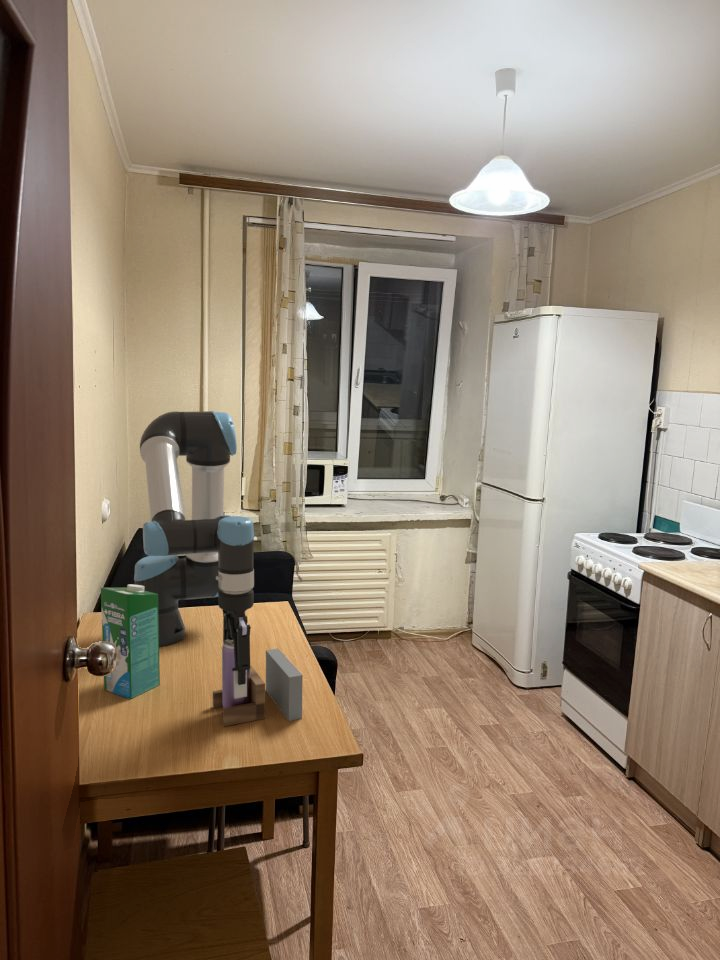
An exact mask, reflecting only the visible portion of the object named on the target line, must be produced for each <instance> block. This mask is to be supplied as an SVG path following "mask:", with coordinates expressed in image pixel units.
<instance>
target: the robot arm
mask: <svg viewBox="0 0 720 960" xmlns="http://www.w3.org/2000/svg"><path fill="white" fill-rule="evenodd" d="M236 435H237V434H236V430H235V425H234V421H233V418H232V416H231V415H230V414H229V413H227V412H224V411H223V412H222V411H215V410H211V411H168V412H165V413H164V414H160V415H159V416H158V417H156V418H154V419H153V420H152V421H151V422H150V423H149V424H148V425H147V427H146V428H145V429H144V430H143V432H142V435H141V437H140V441H139V454H140V458H141V459H142V461H143V462H144V463H145V472H146V473H145V474H146V475H145V476H146V485H147V495H148V504H149V515H150V517H149V518H150V521H147V522H145V523H143V525H142V539H143V540H142V541H143V543H142V544H143V551H144V554H145V555H146V556H145V557H143V558H141V559H139V560H138V561H137V562H136V563H135V565H134V577H133V580H134V585H142V586H144V591H148V592H152V593H156V594H158V621H159V647H163V646H169V645H172V644H175V643H178V642H180V641H181V640H183V639H184V638H185V637H186V626H185V623H184V621H183V618H182V615H181V612H180V610H179V601H183V600H197V599H207V598H209V599H210V598H211V599H212V598H218V600H217V601H218V603H217V605H218V608H219V609H221V610H222V615H223V616H222V618H223V619H222V620H223V621H222V625H223V626H222V630H223V631H222V643H223V642H224V641H225V640H227V639H229V640H232V639H233V645H234V657H235V668H232V671H234V698H235V699H236V698H241V697H247V670H249V669H250V667H251V666H252V665H251V637H250V636H251V624H248V622H249V621H248V616H247V615H246V611H247V610H250V609H251V608H253V606H254V604H255V603H254V595H255V594H254V590H253V589H254V588H255V569H254V562H255V561H254V551H255V549H254V546H255V544H254V542H255V540H254V539H255V536H256V535H255V531H254V530H255V529H254V522H253V520H252V518H250V517H246V516H239V515H237V516H236V515H235V516H234V515H229V514H224V495H225V494H224V493H225V492H224V491H225V490H224V489H225V488H224V486H225V481H224V480H225V468H226V467H227V466H228V465H229V464H230V463H231V456H235V455H236V454H237V449H238V448H237V447H238V446H237V436H236ZM179 456H180V457H182V456H185V458H186V459H185V461H186V463H187V464H188V465H189V466H191V519H186V514H185V507H184V501H183V495H182V493H183V492H182V487H181V486H182V485H181V481H180V473H179V467H178V458H179ZM179 555H185V557H184V558H179Z"/></svg>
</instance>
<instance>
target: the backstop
mask: <svg viewBox="0 0 720 960" xmlns="http://www.w3.org/2000/svg"><path fill="white" fill-rule="evenodd" d="M265 692H266V693H267V695H269V697H270V698H271V700H272V701H273V702H274V703H275V705H276V706H277V707H278V709H279V710H280V711H281V713H282V714H283V715H284V716H285V718H286V719H287V720H288V722H290V721H297V720H301V719H303V674H302V673H301V671H300V670H298V668H297V667H296V666H295V665H294V664H293V663H292V662H291V661H290V660H289V659H288V658H287V657H286V656H285V654H284V653H283V652H282V651H281V650H280V649H279V648H274V649H273V648H272V649H266V650H265Z"/></svg>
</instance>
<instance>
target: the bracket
mask: <svg viewBox="0 0 720 960" xmlns="http://www.w3.org/2000/svg"><path fill="white" fill-rule="evenodd" d="M250 666H251V667H250V703H249V704H244V705H238V706H233V707H228V708H224V707H223V705H222V689H218V690H212V708H214V709H218V708H222V725H223V726H224V727H229V726H234V725H240V724H243V723H248V722H253V721H258V720H263V719H266V682H264V680H263V679H262V678H261V676H260V675H259V673H257V671H256V670H255V668H254V667H253V666H252V665H250Z"/></svg>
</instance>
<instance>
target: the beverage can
mask: <svg viewBox="0 0 720 960" xmlns="http://www.w3.org/2000/svg"><path fill="white" fill-rule="evenodd" d="M221 654H222V655H221V659H222V661H221V665H222V667H221V669H222V670H221V675H222V676H221V677H222V678H221V679H222V680H221V685H222V687H221V688H222V689H221V690H222V705H223V707H222V708H228V707H233V706H238V705H244V704H249V703H250V669H249V670H247V697H241V698H236V699H235V698H234V671H232V668H235V657H234V645H233V639H232V640H229V639H227V640H225V641H224V642H223V641H222V646H221Z"/></svg>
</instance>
